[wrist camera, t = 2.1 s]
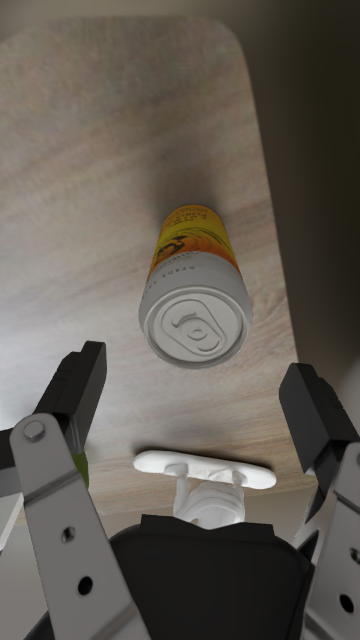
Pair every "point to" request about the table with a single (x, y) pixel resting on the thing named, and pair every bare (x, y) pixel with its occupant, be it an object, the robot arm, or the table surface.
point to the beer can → (194, 293)
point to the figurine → (207, 485)
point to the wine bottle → (9, 515)
